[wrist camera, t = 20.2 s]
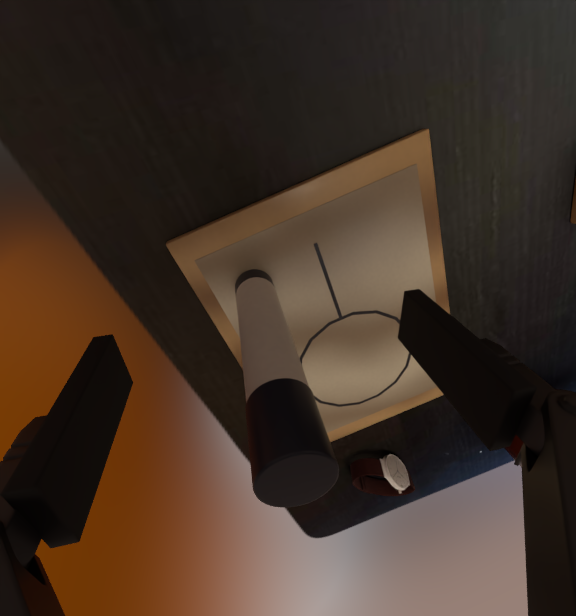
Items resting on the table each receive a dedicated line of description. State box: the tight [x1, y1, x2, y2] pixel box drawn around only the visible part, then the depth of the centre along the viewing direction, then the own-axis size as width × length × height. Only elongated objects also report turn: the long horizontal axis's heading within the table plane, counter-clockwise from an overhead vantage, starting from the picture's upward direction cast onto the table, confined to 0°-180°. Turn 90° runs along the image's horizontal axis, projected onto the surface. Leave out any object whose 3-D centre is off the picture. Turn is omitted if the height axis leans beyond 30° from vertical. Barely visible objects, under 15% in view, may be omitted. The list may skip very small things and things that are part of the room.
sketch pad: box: [166, 129, 450, 442], centre depth 24 cm, size 22×16×1 cm
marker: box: [235, 269, 339, 507], centre depth 15 cm, size 2×2×13 cm
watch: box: [350, 454, 415, 496], centre depth 32 cm, size 8×5×4 cm, turn 54°
